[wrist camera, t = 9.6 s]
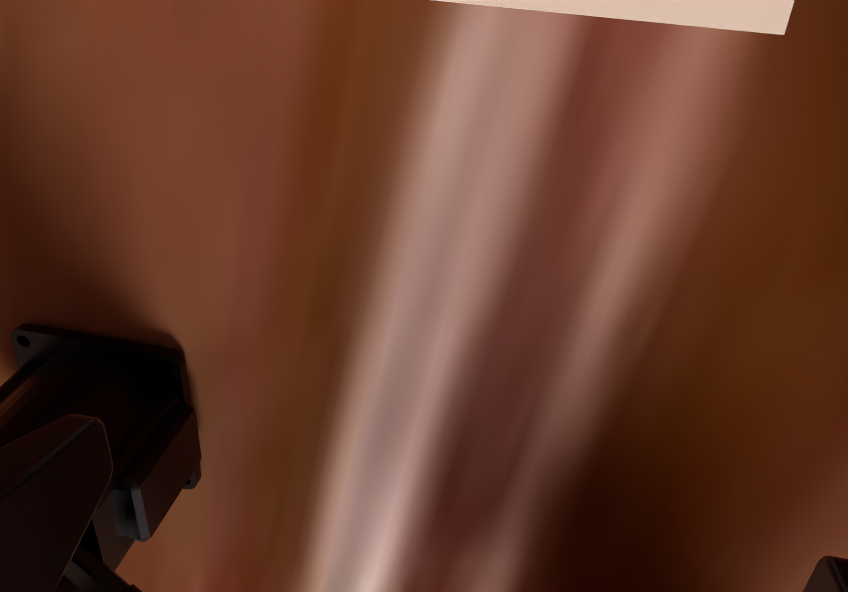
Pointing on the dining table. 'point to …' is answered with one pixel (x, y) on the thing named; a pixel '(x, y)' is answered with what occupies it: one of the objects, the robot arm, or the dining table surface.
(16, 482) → the robot arm
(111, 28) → the dining table surface
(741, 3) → the dish
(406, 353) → the dining table surface
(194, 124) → the dining table surface
